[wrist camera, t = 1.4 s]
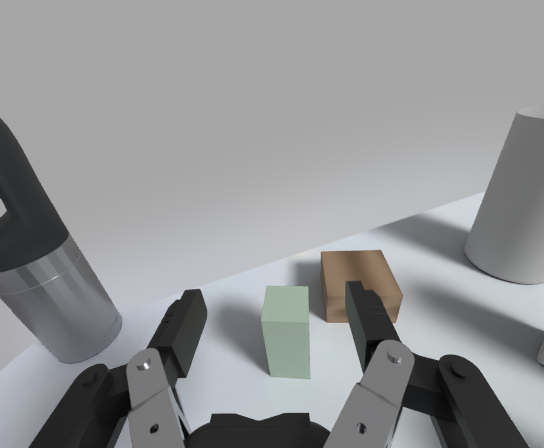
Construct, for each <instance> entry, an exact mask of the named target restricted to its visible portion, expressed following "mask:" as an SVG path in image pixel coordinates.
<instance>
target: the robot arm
mask: <svg viewBox="0 0 544 448" xmlns="http://www.w3.org/2000/svg"><path fill="white" fill-rule="evenodd" d="M0 199H2V201H3V203H4V205H5V207H6V210H7V211H6V213H5V214H4V215H3V216H2V217H0V299H1V300H2V301H4V303H5V304H6V305H7V306H8V307H9V308H10V309H11V310H12V312H13V313H14V314H15V315H16V316H17V317H18V318H19V319H20V320H21V322H22V323H23V324H24V325H25V326H26V327H27V328H28V329H29V330H30V331H31V332H32V333H33V334H34V335H35V336H36V337H37V338H38V339H39V340H40V342H41V343H42V344H43V345H44V346H45V347H46V348H47V349H48V350H49V351H50V352H52V353H53V354H54V355H55V356H56V358H57V359H58V360H59V361H61V362H63V363H76V362H80V361H83V360H86V359H88V358H90V357H92V356H94V355H95V354H97V353H99V352H100V351H102V350H103V349H104V348H105V347H107V346H108V345H109V344H110V343H111V342H112V341H113V340H114V338H115V337H116V336H117V334H118V333H119V331H120V329H121V326H122V317H121V315H120V314H119V312H118V311H117V309H116V307H115V306H114V304H113V302H112V301H111V299H110V298H109V296H108V294H107V292H106V291H105V289H104V288H103V286H102V285H101V283H100V281H99V280H98V278H97V276H96V275H95V273H94V272H93V270H92V268H91V267H90V265H89V263H88V262H87V260H86V259H85V257H84V255H83V254H82V252H81V250H80V249H79V247H78V246H77V244H76V243H75V241H74V239H73V238H72V236H71V235H70V233H69V231H68V230H67V228H66V227H65V225H64V223H63V222H62V220H61V218H60V217H59V215H58V213H57V211H56V209H55V208H54V206H53V204H52V203H51V201H50V199H49V198H48V196H47V194H46V193H45V191H44V189H43V187H42V185H41V183H40V182H39V180H38V178H37V176H36V174H35V173H34V170H33V169H32V167H31V165H30V163H29V161H28V159H27V157H26V155H25V153H24V151H23V150H22V148H21V146H20V144H19V143H18V141H17V139H16V138H15V136H14V135H13V133H12V132H11V130H10V129H9V128H8V126H7V125H6V124H5V123H4V122H3V120H2V119H1V118H0ZM345 308H346V314H347V317H348V321H349V325H350V328H351V332H352V335H353V339H354V343H355V346H356V350H357V353H358V357H359V360H360V364H361V368H362V371H363V377H362V379H361V381H360V382H359V383H356V384H355V386H354V387H353V389H352V391H351V393H350V395H349V397H348V399H347V401H346V403H345V405H344V407H343V409H342V411H341V413H340V415H339V417H338V419H337V421H336V423H335V425H334V427H333V429H332V431H331V432H330V431H329V430H327V429H326V428H324V427H323V426H321V425H319V424H317V423H315V422H311V421H310V418H309V413H283V414H280V415H277V416H274V417H271V418H267V419H264V420H261V421H257V420H254V419H251V418H248V417H244V416H241V415H238V414H212V415H211V420H210V423H207V424H205V425H203V426H201V427H199V428H198V429H196V430H195V431H193V432H192V431H191V429H190V427H189V424H188V422H187V419H186V416H185V413H184V410H183V406H182V403H181V400H180V397H179V394H178V391H177V388H176V386H175V384H176V382H177V379H178V378H186V377H187V374H188V371H189V369H190V366H191V363H192V360H193V357H194V354H195V351H196V348H197V346H198V343H199V340H200V337H201V334H202V331H203V328H204V325H205V323H206V320H207V308H206V305H205V302H204V299H203V295H202V292H201V290H200V289H191V290H185V291H184V293H183V295H182V297H181V299H180V300H176V301H175V302H174V303H173V304H172V305H171V306H170V307H169V308H168V310H167V312H166V313H165V317H163V319H162V321H161V323H160V325H159V326H158V328H157V330H156V332H155V334H154V336H153V337H152V339H151V341H150V343H149V345H148V347H147V348H146V349H144V350H142V351H140V352H138V353H137V354H136V355H135V356H133V358H132V359H131V360H130V361H129V363H128V364H125V365H122V366H119V367H116V368H113V369H110V370H109V369H108V368H107V366H106V365H104V364H96V365H93V366H91V367H89V368H87V369H86V370H84V371H83V372H82V373H81V374H79V375H78V377H77V378H76V379H75V380H74V382H73V383H72V385H71V386H70V388H69V389H68V391H67V392H66V393H65V395H64V396H63V398H62V399H61V401H60V402H59V404H58V405H57V407H56V408H55V410H54V411H53V412H52V414H51V415H50V417H49V418H48V420H47V421H46V423H45V424H44V426H43V427H42V429H41V430H40V432H39V433H38V434H37V436H36V437H35V439H34V440H33V442H32V443H31V445H30V446H29V448H114V446H115V444H116V442H117V439H118V437H119V435H120V433H121V430H122V428H123V426H124V423H125V421H126V419H127V417H128V419H129V426H130V434H131V442H132V448H390V447H391V444H392V441H393V438H394V435H395V432H396V429H397V425H398V422H399V419H400V416H401V413H402V410H403V407H406V408H409V409H412V410H415V411H418V412H421V413H424V414H428V415H430V417H431V420H432V423H433V425H434V428H435V430H436V433H437V435H438V438H439V440H440V443H441V445H442V448H529V447H528V445H527V443H526V442H525V440H524V439H523V437H522V436H521V434H520V432H519V431H518V429H517V428H516V426H515V425H514V423H513V421H512V420H511V418H510V417H509V415H508V414H507V412H506V411H505V409H504V407H503V406H502V404H501V403H500V401H499V400H498V398H497V396H496V395H495V393H494V392H493V390H492V389H491V387H490V385H489V384H488V382H487V381H486V379H485V378H484V376H483V374H482V373H481V371H480V370H479V369H478V368H477V367H476V366H475V365H474V364H473V363H472V362H470V361H469V360H467V359H465V358H463V357H461V356H458V355H451V354H450V355H444V356H442V357H441V358H440V360H439V361H438V360H434V359H430V358H426V357H423V356H419V355H417V354H415V353H413V352H411V350H410V349H409V348H408V347H407V346H405V345H404V344H402V342H401V341H400V339H399V337H398V334H397V332H396V330H395V328H394V326H393V324H392V322H391V319H390V317H389V315H388V314H387V311H386V309H385V307H384V305H383V302H382V300H381V298H380V296H379V295H377V294H376V293H375V292H374V291H373V290H365V289H364V287H363V284H362V282H361V280H355V281H346V283H345Z"/></svg>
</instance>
